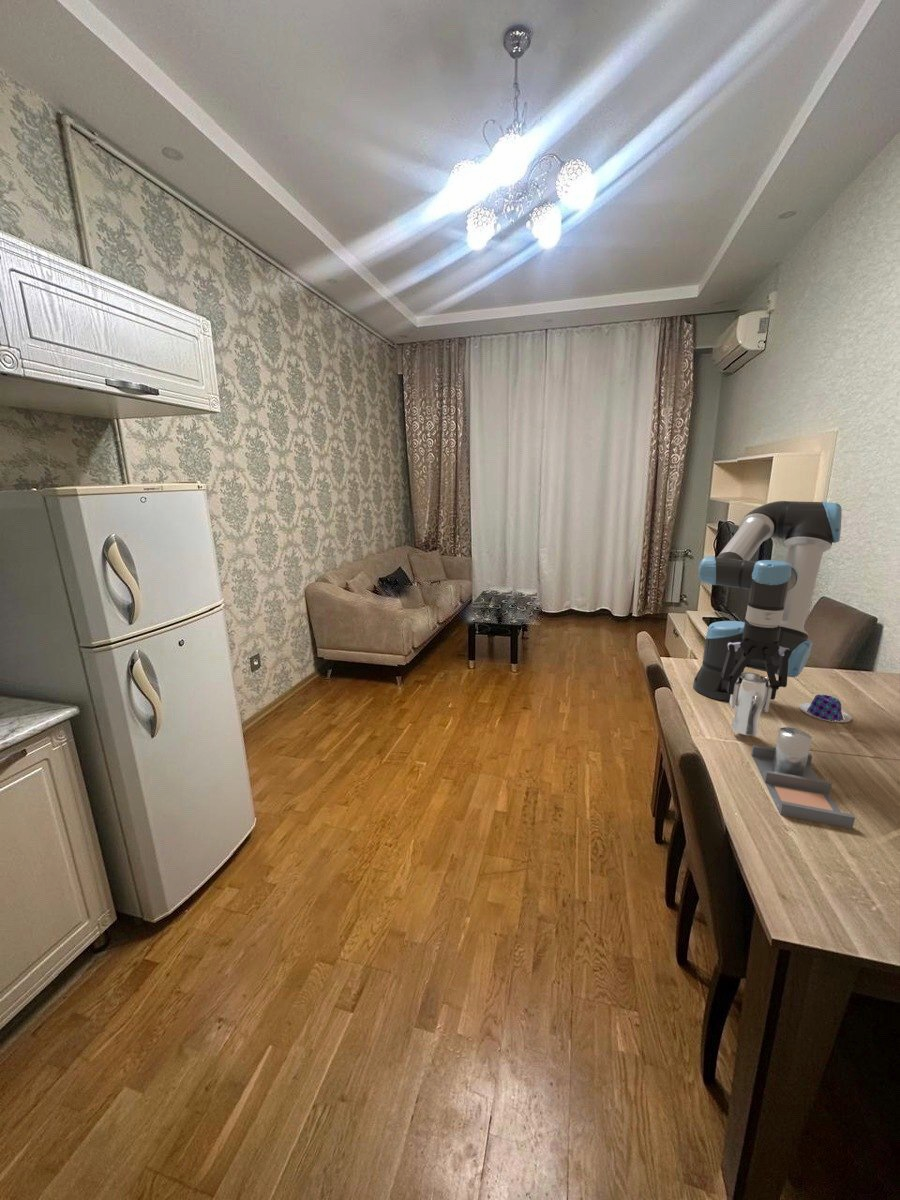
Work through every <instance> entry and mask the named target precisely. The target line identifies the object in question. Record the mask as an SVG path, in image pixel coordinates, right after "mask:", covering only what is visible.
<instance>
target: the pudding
mask: <svg viewBox="0 0 900 1200" xmlns="http://www.w3.org/2000/svg"><path fill="white" fill-rule="evenodd" d="M808 707H809V708H808ZM799 708H800V710H801V711H802V712H803V713H804V714H807V715H809V716H811V717H813V718H816V719H819V720H823V721H827V722H832V723H849V722H850V721H851V720H852V717H851V715H850V714H848V712H846V711H843V710H842V703H841V701H840V700H839V699H838V698H836V697H834V696H833V695H832V696H831V695H826V694H816V695H815V696H814V698H813V700H812V701H811V702H804V703H800V705H799ZM806 708H807V711H808V712H807V711H806V710H805V709H806ZM842 715H843V716H844V718H845V720H844V719H843V717H842ZM830 719H831V720H832V721H831V720H830ZM842 719H843V721H842ZM835 720H836V721H835ZM839 720H840V721H839Z"/></svg>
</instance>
